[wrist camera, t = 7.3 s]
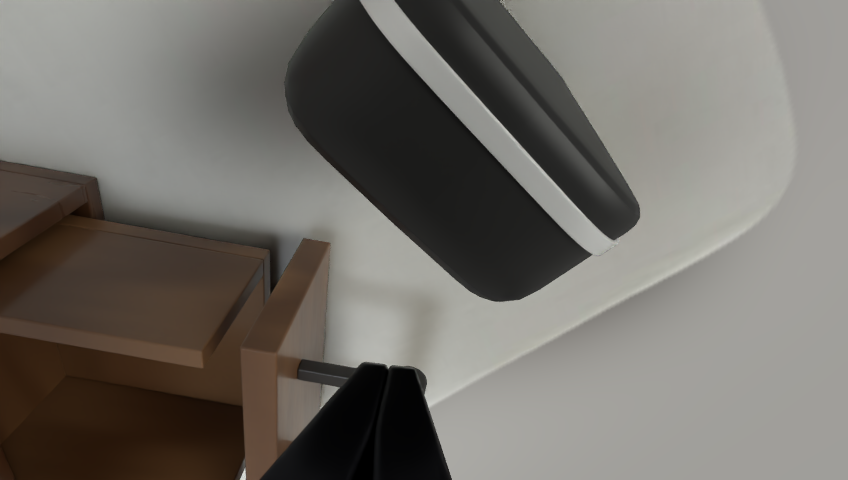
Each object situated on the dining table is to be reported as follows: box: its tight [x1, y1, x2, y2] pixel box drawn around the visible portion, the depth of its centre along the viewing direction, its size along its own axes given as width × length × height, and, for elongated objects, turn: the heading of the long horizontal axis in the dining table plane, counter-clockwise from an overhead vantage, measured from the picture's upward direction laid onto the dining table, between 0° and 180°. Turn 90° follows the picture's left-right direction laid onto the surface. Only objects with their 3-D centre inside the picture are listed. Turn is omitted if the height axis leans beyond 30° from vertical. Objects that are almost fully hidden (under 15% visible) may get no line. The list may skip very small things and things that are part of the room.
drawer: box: [0, 214, 427, 480], centre depth 22 cm, size 18×11×7 cm, turn 81°
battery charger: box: [284, 0, 640, 302], centre depth 13 cm, size 7×4×11 cm, turn 44°
